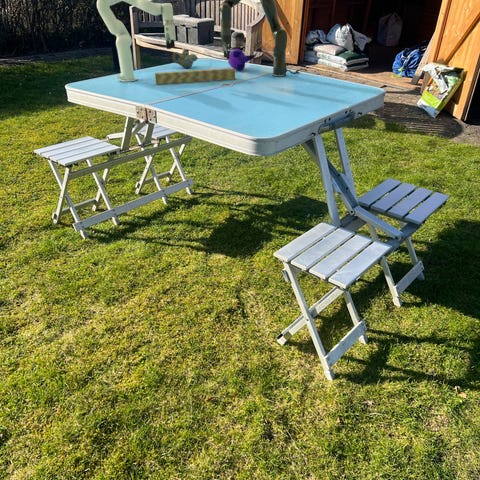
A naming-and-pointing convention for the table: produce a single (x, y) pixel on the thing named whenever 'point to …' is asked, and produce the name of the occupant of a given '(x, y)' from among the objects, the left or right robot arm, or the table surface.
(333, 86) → the table surface
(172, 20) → the left robot arm
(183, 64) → the teapot
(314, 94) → the table surface
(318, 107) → the table surface
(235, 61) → the toy
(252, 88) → the table surface
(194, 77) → the bar
